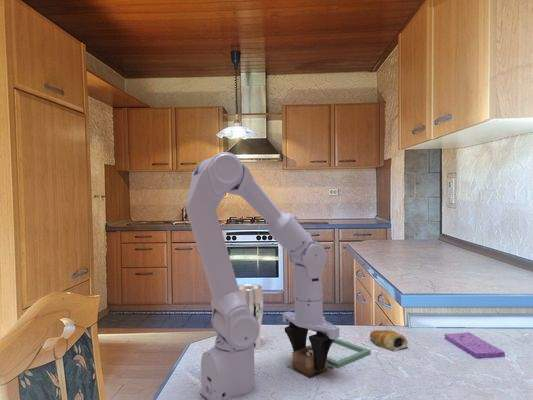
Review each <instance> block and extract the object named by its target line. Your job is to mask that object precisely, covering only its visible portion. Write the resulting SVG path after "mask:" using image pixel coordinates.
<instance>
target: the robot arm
mask: <svg viewBox="0 0 533 400" xmlns="http://www.w3.org/2000/svg"><path fill="white" fill-rule="evenodd" d="M252 174H253V173H252V172H251V170H250V168H249V167H248V166H247V165H245V164H243V163H242V161H241V160H240V158H239V157H238V156H237V155H236V154H234V153H232V152H230V151H222V152H219V153H217V154H215V155H214V156H212V157H209V158H205V159H204V160H202V161H201V162H200V163H199V164H198V165H197V166H196V168H195V169H194V170H193V171H192V173H191V180H190V181H191V182H190V186H189V189H188V192H187V195H186V199H185V204H184V206H185V211H186V214H187V218H188V222H189V225H190V227H191V228H190V229H191V231H192V235H193V237H194V241H195V244H196V248H197V251H198V254H199V257H200V261H201V265H202V268H203V270H204V274H205V277H206V281H207V283H208V287H209V290H210V294H211V297H212V298H211V300H210V305H211V306H210V307H211V309H212V310H211V319H210V320H211V321H210V322H211V326H212V328H213V330H214V331H215V332H216V334H217V335H216V337H215V341H214V345H213V346H212V348H209V349H208V350H206V351H204V352H203V353H202V355H201V361H200V372H201V374H200V376H201V378H200V379H201V387H200V389H199V394H201V395H202V396H203V397H204V398H205V399H206V400H228V399H230V398H234V397H237V396H242V395H245V394H248V393H250V392H251V391H252V390H254V388H255V385H256V382H255V377H256V375H255V349H254V342H255V341H256V339H257V337H258V334H259V323H258V321H257V319H256V318H255V317H254V316H253V315H252V314H251V312H250V310H249V307H248V304H247V302H246V301H245V299H244V298H243V296H242V294H241V293H240V291H239V287H238V286H239V285H238V281H237V277H236V275H235V271H234V267H233V264H232V260H231V258H230V253H229V250H228V246H227V244H226V240H225V237H224V234H223V230H222V226H221V223H220V220H219V217H218V213H217V208H218V206H219V204H220V203H221V201H222V200H223V198H224V196H225V195H226V194H229V195H235V196H240V197H241V198H242V199H243V200H245V202H246V203H247V204H249V206H250V207H251V208H253V210H254V211H256V213H258V215H259V216H261V218H263V220H265V222H267V223H268V226H267V227H268V229H267V230H268V233H269V234H270V236H271V237H272V238H273V239H274V240H275V241H276V242H277V243H278V244H279V246H280V247H282V248H283V250H284V251H285V252H286V253H287V257H288V260H289V262H290V263H292V264H293V276H294V277H293V281H294V282H293V283H294V284H293V285H294V287H293V288H294V311H293V312H292V311H285V312H283V313H282V322H283V323H285V324H286V323H289V324H288V326H286V327H284V333H285V334H286V335H287V337H288V339H289V342H290V344H291V345H290V346H291V347H292V352H294V351H297V350H300V349H302V348H305V347H306V346H307V337H308V341H309V342H310V345H311V346H312V350H313V357H314V367H315V370H316V371H320V370H322V369H324V368H325V363H326V358H327V357H328V353H329V351H330V348H331V346H332V345H333V343H332V342H333V341H334V339H336V338H337V339H339V338H340V327H339V326H337V325H334V324H333V323H330V322H329V321H327V320H326V317H325V316H324V315H323V314H324V310H323V309H324V308H323V307H324V306H323V303H324V302H323V275H324V267H325V265H326V263H327V261H328V255H329V254H328V253H326V249H325V247H324V245H323V243H321V242H318V241H316V240H313V238H312V234H311V233H310V232H307V231H306V230H305V228H304V227H303V226H302V225H301V224H300V223H299V222H298V221H299V218H298V217H297V216H296V214H291V213H289V212H281V209H279V208H278V207H277V205H276V204H275V202H273V200H272V199H271V198H270V196H269V195H268V194H267V192H266V191H265V190H264V189H263V188H262V187H261V185H260V184H259V183H258V182H257V180H256V179H255V178H254V176H253V175H252ZM309 331H312V332H315V333H316V334H315V333H314V334H312V335H309V336H308V332H309Z"/></svg>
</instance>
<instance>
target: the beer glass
mask: <svg viewBox="0 0 533 400" xmlns="http://www.w3.org/2000/svg"><path fill="white" fill-rule="evenodd" d="M238 287H239V291H240V293H241V294H242V296H243V298H244V299H245V301H246V302H247V304H248V307H249V310H250V312H251V314H252V315H253V316H254V317H255V318H256V319H257V321H258V323H259V334H258V337H257V339H256V341H255V342H254V350H256V349H257V348H260V347H261V346H262V345H263V344H262V343H263V342H262V339H261V338H262V337H261V329H262V324H263V323H262V322H263V315H264V294H263V286H262V285H260V284H255V283H254V284H251V283H249V284H240V285H238Z"/></svg>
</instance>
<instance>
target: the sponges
mask: <svg viewBox="0 0 533 400" xmlns="http://www.w3.org/2000/svg"><path fill="white" fill-rule="evenodd" d="M443 335H444V340H445V341H447V342H449V343H451V344H452V345H454V346H455V347H457V348H458V349H460V350H462V351H463V352H464V353H466V354H468V355H469V354H470V355H469V356H471V357H473V358H475V359H477V360H478V359H479V360H480V359H492V358H505V357H506V353H505V351H504V350H502V349H500V348H498V347H496V346H495V345H492V344H491V343H489V342H487V341H485V340H484V339H482V338H481V337H479V336H477V335H475V334H474V333H471V332H459V333H458V332H454V333H444V334H443Z"/></svg>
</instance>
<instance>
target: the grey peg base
mask: <svg viewBox="0 0 533 400" xmlns="http://www.w3.org/2000/svg"><path fill="white" fill-rule="evenodd" d="M306 355H308V356H312V355H313V351H312V350H306ZM286 368H288V369H290V370H292V371H293V372H296V373H298V374H300V375H301V376H304V377H305V378H308V379H313V378H315V377H317V376H319V375H322V374H324V373H326V372H328V371H331V370H333V369H335V367H334V366H331V365H329V364H327V368H325V369H323V370H321V371H318V372H316V373H314V374H311V375H309V374H307V373H305V372H303V371H301V370H299V369H297V368H295V367H293V363H291V364H289V365H286Z"/></svg>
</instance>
